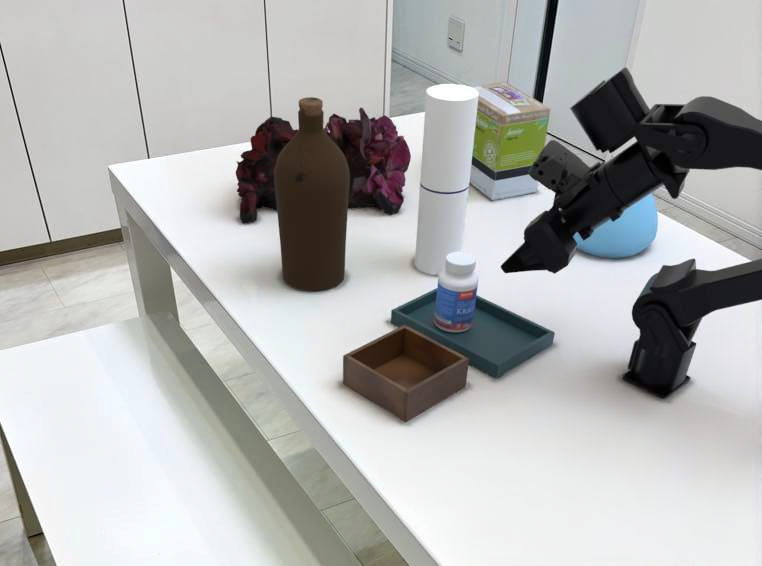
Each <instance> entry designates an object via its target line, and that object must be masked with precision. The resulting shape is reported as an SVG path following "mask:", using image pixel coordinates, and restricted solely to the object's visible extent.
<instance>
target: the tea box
mask: <svg viewBox="0 0 762 566" xmlns="http://www.w3.org/2000/svg"><path fill="white" fill-rule="evenodd" d="M471 87H472V88H474V89H476V90H477V91H478V92H479V97H478V106H477V116H476V125H475V134H474V144H473V153H472V162H471V172H470V181H469V184H471V185H472V186H473V187H474V188H476V189H477V190H479V191H480V192H481V193H482V194H483V195H484V196H486V197H487V198H488V199H490V200H491V201H498V200H503V199H508V198H513V197H517V196H523V195H529V194H532V193H536V192H537V191H538V188H539V184H540V183H539V182H538V181H535V180H534V179H533V178H532V177H531V176H530V175H529V173H528V171H529V170H530V168H531V166H532V165H533V163H534V162H535V160H536V159H537V157H538V156H539V154H540V152H541V151H542V149H543V148H544V147H545V146H546V140H547V134H548V126H549V121H550V115H551V109H552V108H551V107H549V106H547V105H546V104H544V103H542V102H540V101H539V100H537V99H536V98H534V97H532V96H530V95H529V94H527V93H526V92H524V91H522V90H520V89H518V88H517V87H515V86H514V85H512V84H510V83H508V82H506V81H500V82H494V83H487V84H482V85H481V84H480V85H475V86H471Z"/></svg>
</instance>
